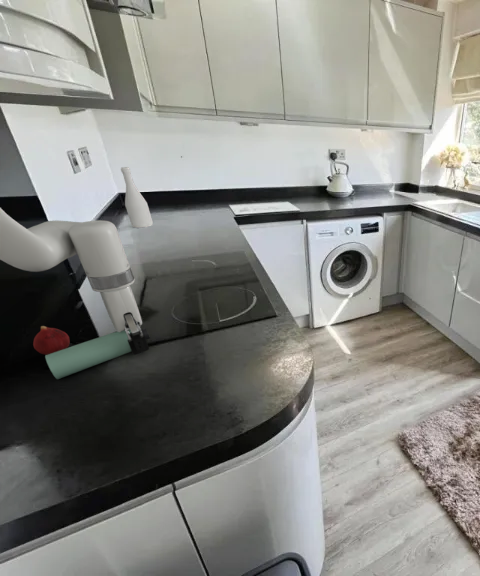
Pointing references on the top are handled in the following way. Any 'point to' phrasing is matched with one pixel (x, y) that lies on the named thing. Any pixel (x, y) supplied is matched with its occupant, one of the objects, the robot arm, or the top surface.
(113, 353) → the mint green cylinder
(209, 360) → the top surface
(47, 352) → the onion
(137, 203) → the wine bottle
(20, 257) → the robot arm
